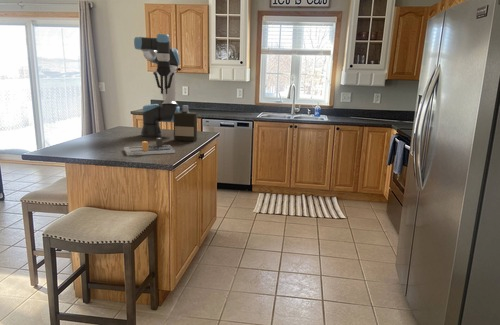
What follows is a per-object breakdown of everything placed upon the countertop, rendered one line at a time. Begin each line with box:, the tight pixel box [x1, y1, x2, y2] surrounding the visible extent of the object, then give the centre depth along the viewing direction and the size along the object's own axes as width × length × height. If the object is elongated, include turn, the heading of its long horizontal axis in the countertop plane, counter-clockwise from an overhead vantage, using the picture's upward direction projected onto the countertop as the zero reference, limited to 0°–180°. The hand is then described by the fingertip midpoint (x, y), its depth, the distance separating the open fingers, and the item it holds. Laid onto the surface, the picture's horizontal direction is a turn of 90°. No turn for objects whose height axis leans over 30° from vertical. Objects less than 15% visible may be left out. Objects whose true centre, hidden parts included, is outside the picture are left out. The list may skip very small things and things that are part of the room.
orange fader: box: [141, 140, 149, 151], centre depth 213 cm, size 4×3×5 cm
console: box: [123, 144, 176, 157], centre depth 219 cm, size 15×28×2 cm, turn 114°
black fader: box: [155, 137, 163, 147], centre depth 225 cm, size 4×3×5 cm
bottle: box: [173, 104, 198, 143], centre depth 254 cm, size 8×16×25 cm, turn 88°
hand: (164, 99), depth 227 cm, fingers closed
